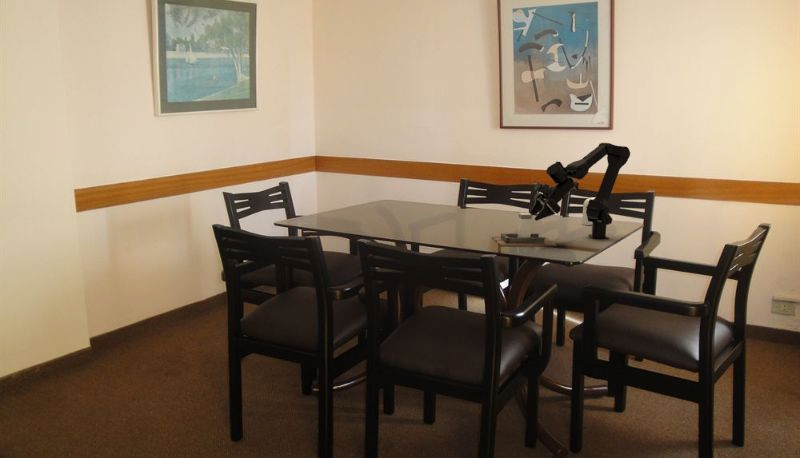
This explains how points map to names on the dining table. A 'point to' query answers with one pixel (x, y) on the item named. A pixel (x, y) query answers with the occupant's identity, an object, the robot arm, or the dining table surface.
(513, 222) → the dining table surface
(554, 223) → the dining table surface
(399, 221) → the dining table surface
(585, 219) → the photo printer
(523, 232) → the cream square-faced block
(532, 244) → the brown flat board
